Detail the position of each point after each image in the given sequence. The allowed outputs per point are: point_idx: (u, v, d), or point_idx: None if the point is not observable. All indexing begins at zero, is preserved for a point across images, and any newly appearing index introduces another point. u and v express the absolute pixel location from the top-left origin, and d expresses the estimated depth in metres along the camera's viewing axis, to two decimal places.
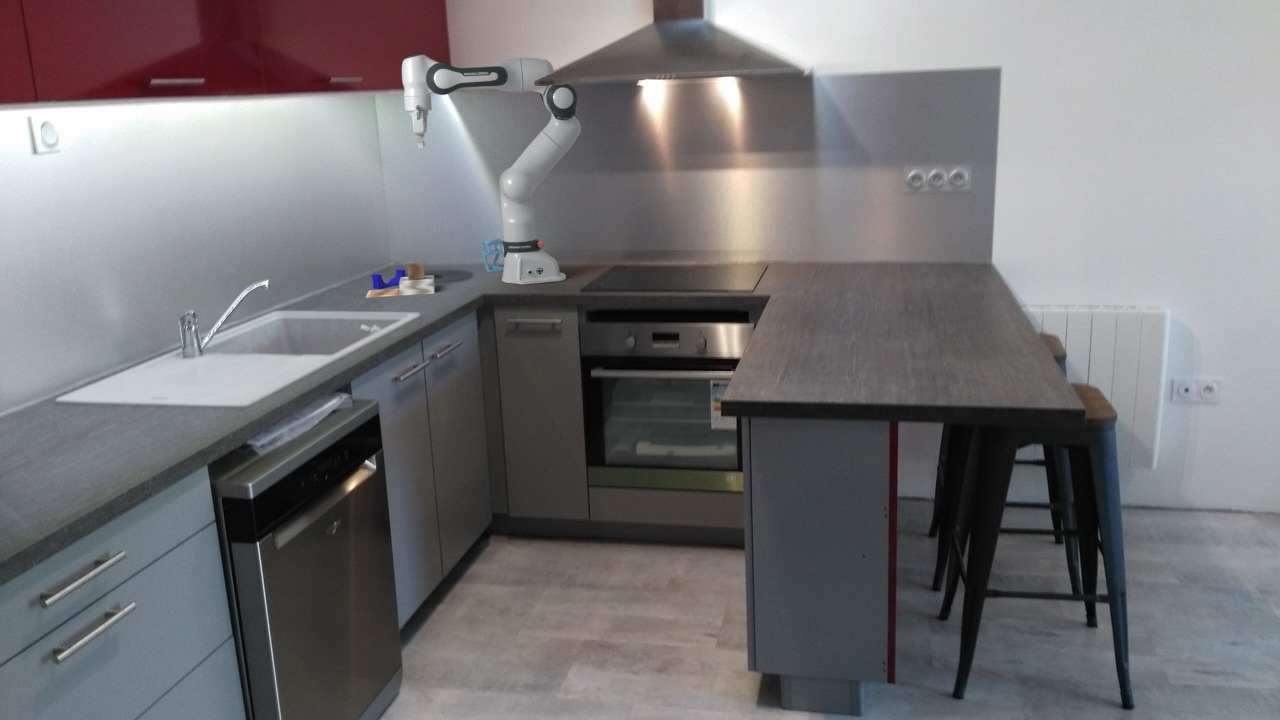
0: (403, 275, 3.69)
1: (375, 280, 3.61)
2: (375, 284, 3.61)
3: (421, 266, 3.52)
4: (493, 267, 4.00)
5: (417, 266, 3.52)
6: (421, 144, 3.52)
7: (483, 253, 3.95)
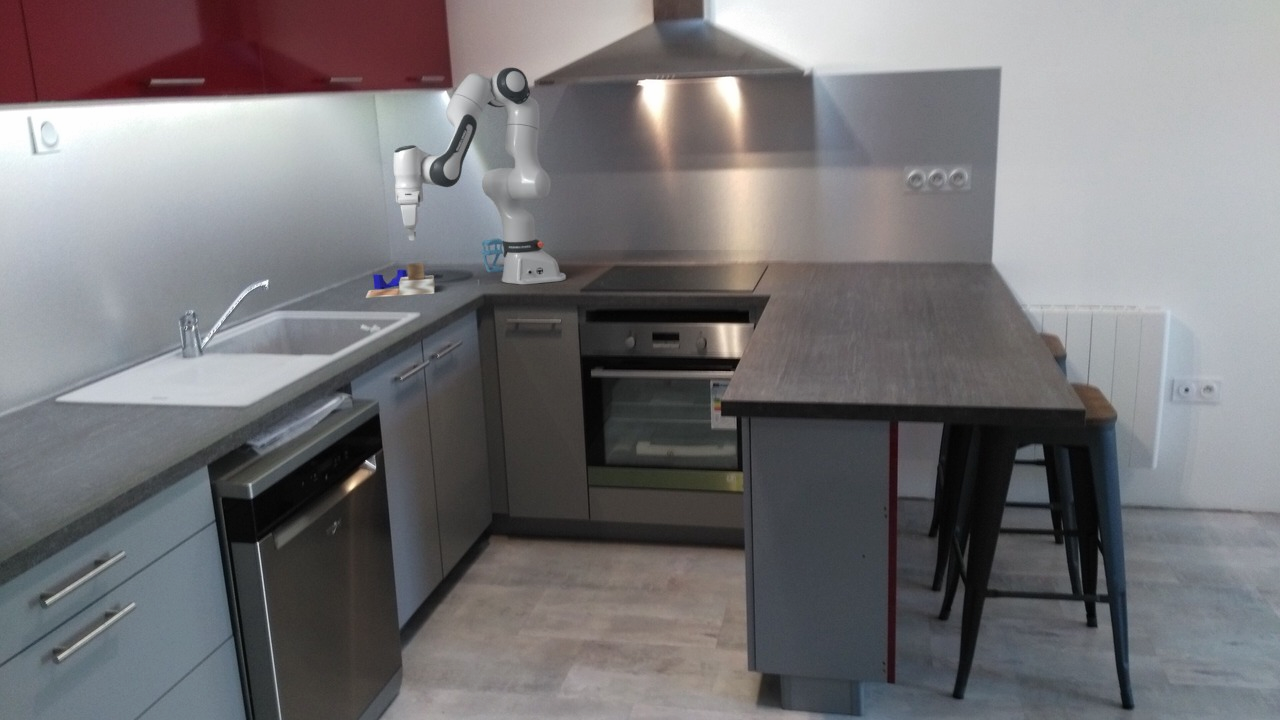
0: (404, 275, 3.68)
1: (376, 280, 3.61)
2: (376, 284, 3.61)
3: (421, 266, 3.52)
4: (493, 267, 4.00)
5: (417, 266, 3.52)
6: None
7: (483, 253, 3.95)
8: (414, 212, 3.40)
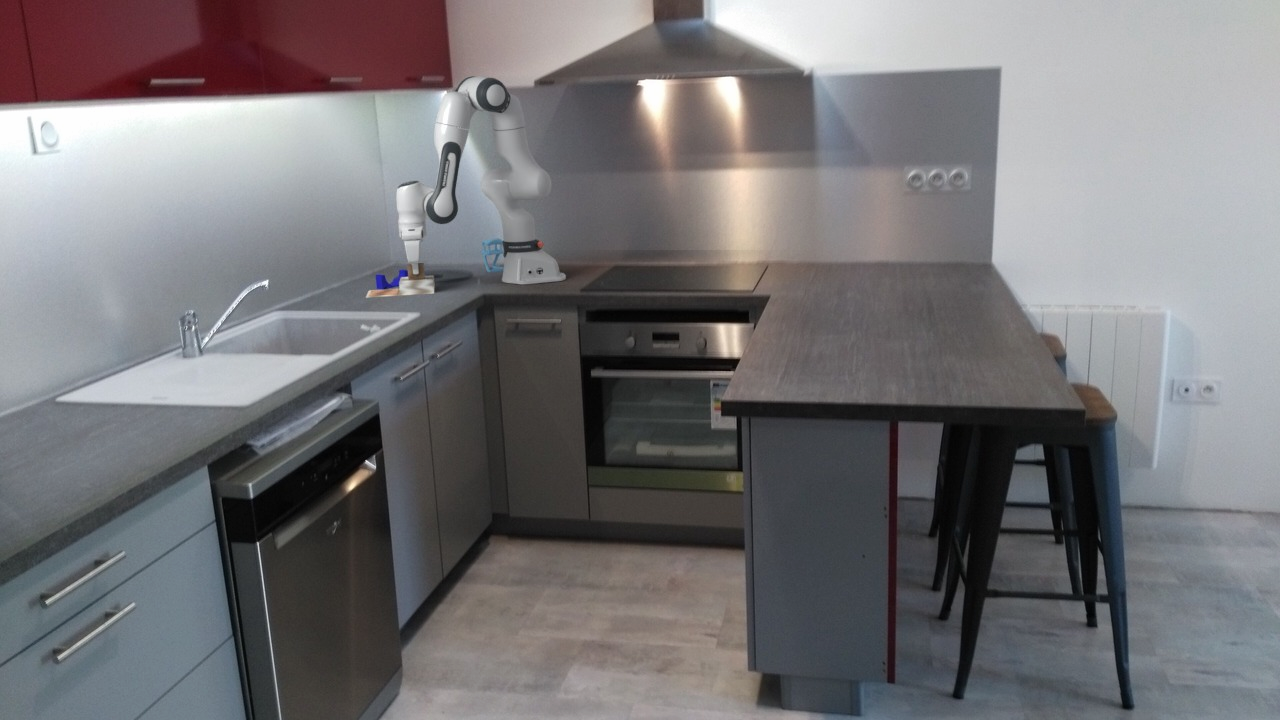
0: (406, 275, 3.68)
1: (378, 280, 3.60)
2: (379, 284, 3.61)
3: (421, 266, 3.52)
4: (493, 267, 4.00)
5: None
6: None
7: (483, 253, 3.95)
8: (418, 248, 3.43)
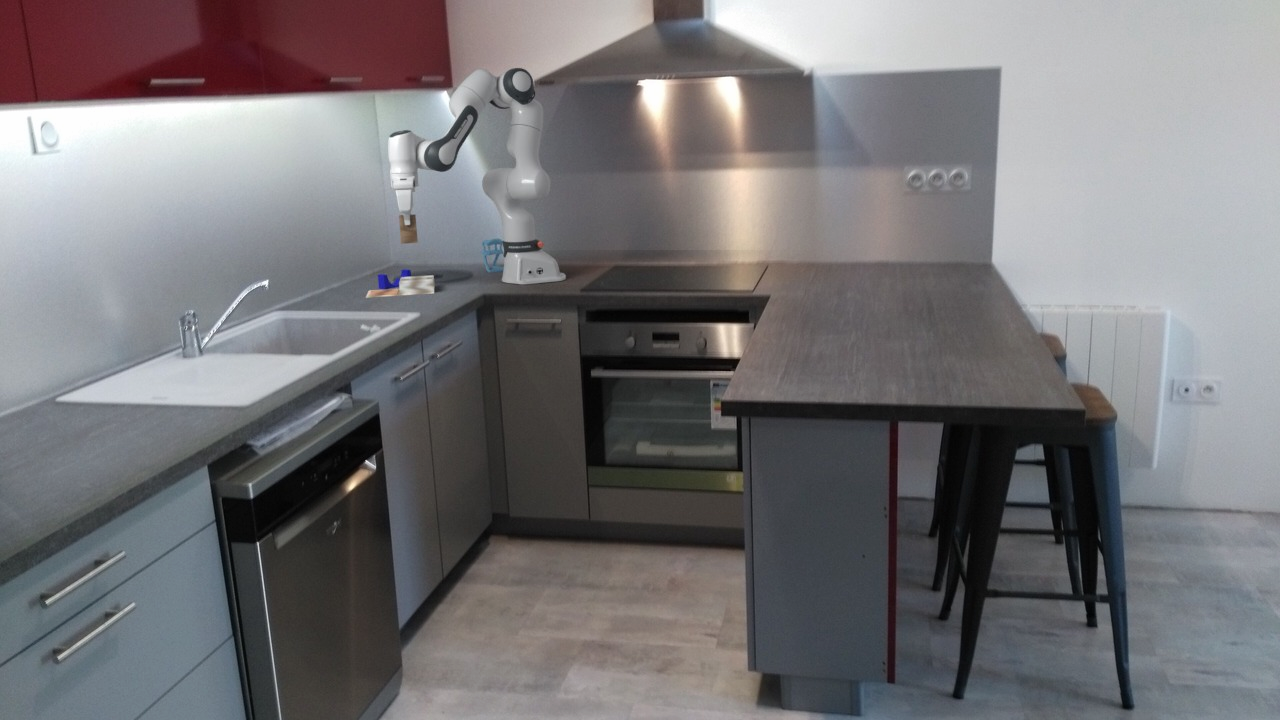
0: (409, 275, 3.68)
1: (380, 280, 3.60)
2: (381, 284, 3.61)
3: (413, 217, 3.48)
4: (493, 267, 4.00)
5: None
6: None
7: (483, 253, 3.95)
8: (409, 197, 3.38)
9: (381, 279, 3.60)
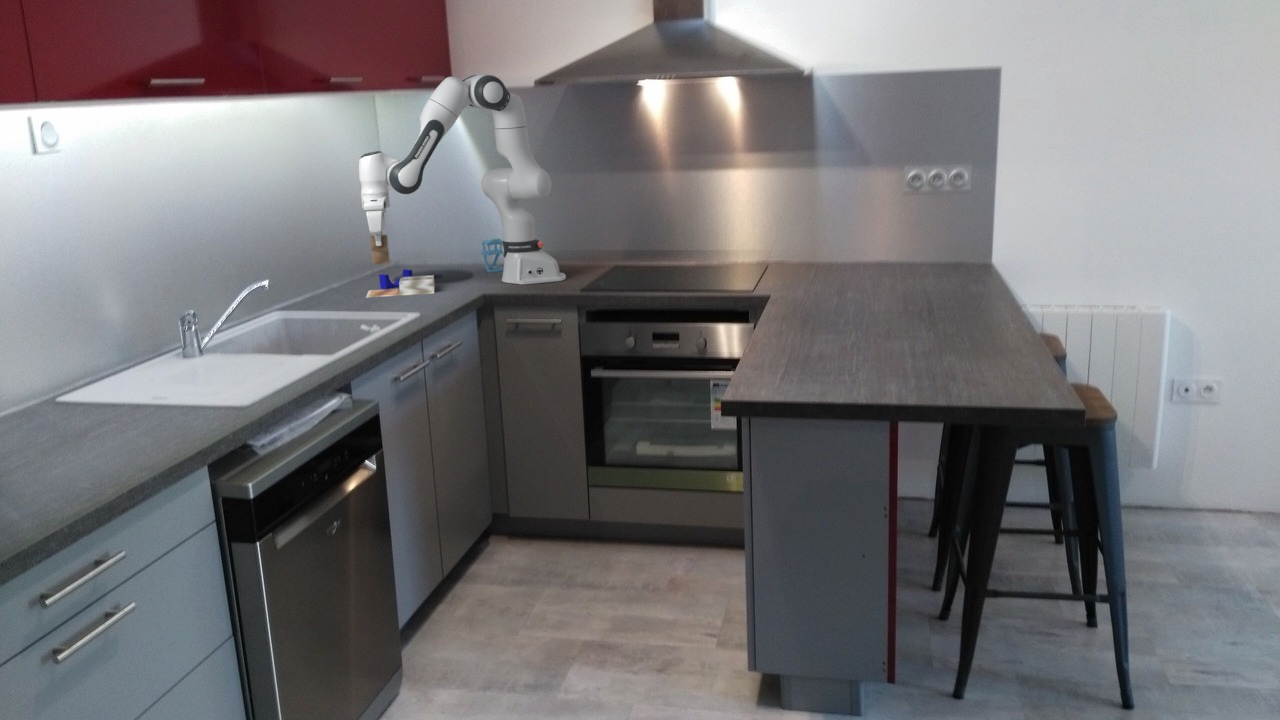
0: (410, 275, 3.68)
1: (382, 280, 3.60)
2: (382, 284, 3.61)
3: (384, 238, 3.48)
4: (493, 267, 4.00)
5: None
6: None
7: (483, 253, 3.95)
8: (380, 218, 3.38)
9: (382, 279, 3.60)
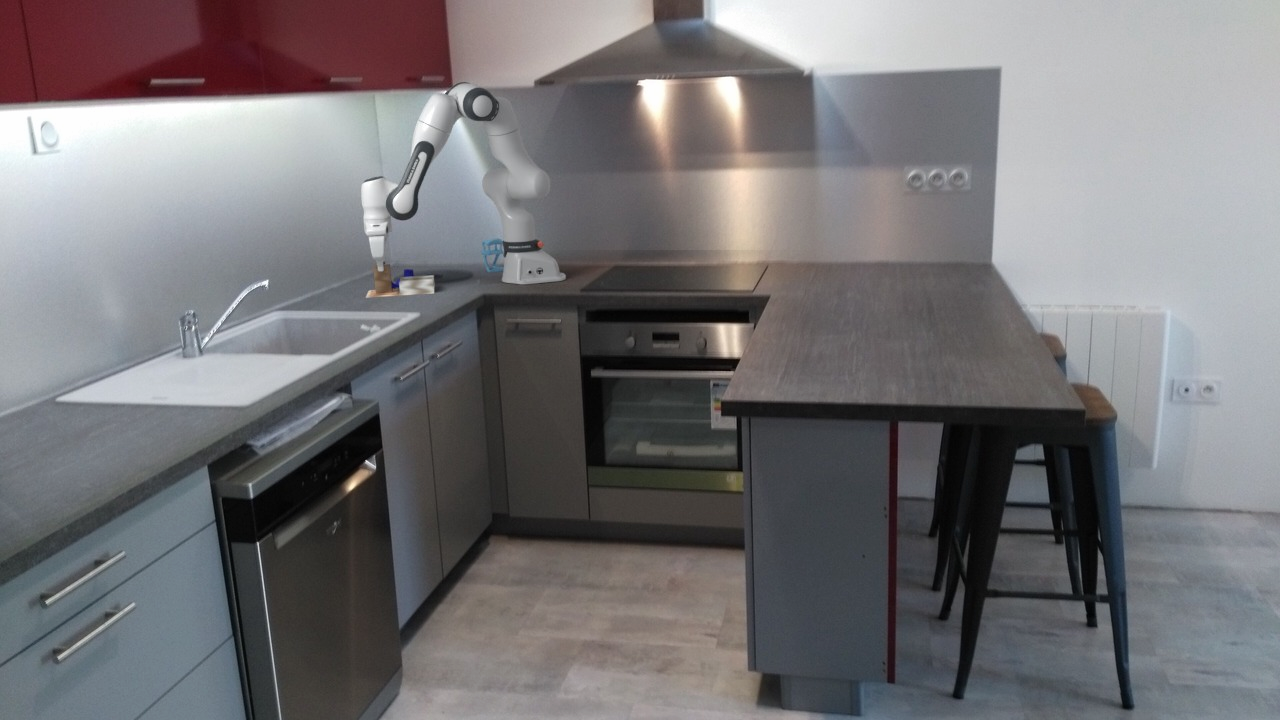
0: (411, 275, 3.68)
1: None
2: None
3: (387, 267, 3.51)
4: (493, 267, 4.00)
5: None
6: None
7: (483, 253, 3.95)
8: (382, 244, 3.41)
9: None
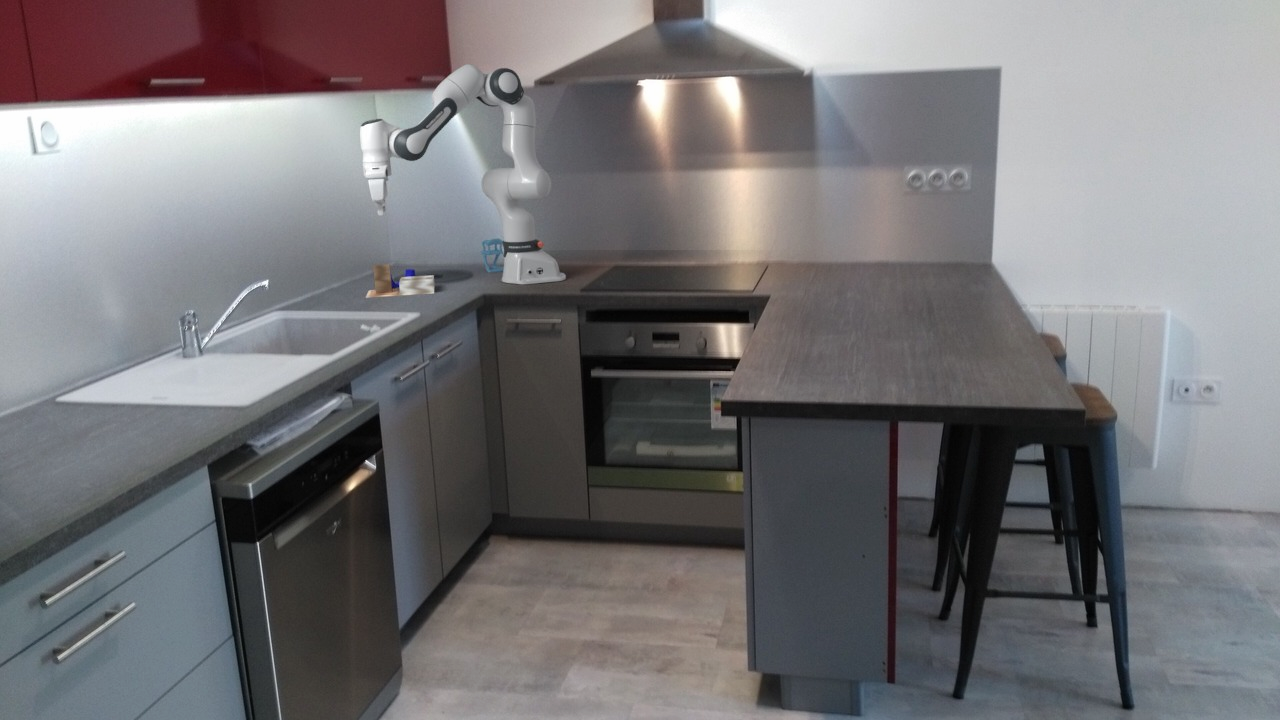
0: (413, 275, 3.68)
1: None
2: None
3: (387, 267, 3.51)
4: (493, 267, 4.00)
5: (383, 267, 3.50)
6: None
7: (483, 253, 3.95)
8: (382, 186, 3.37)
9: None
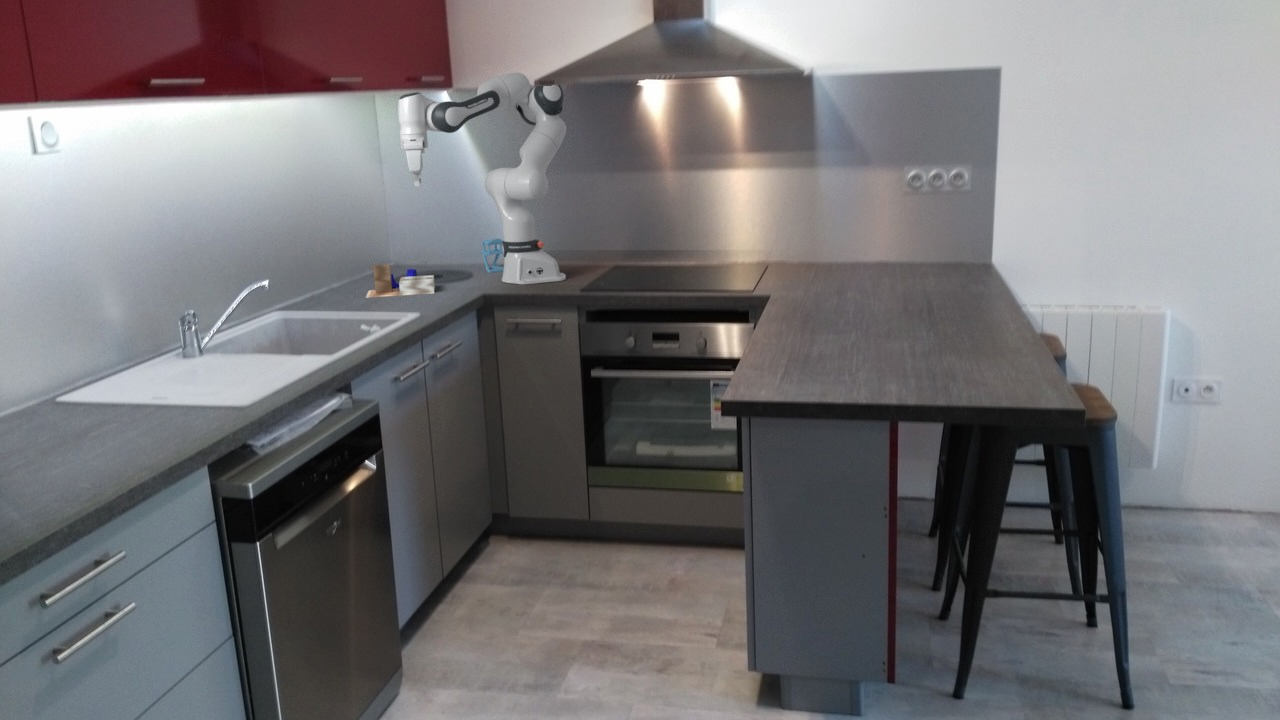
0: (414, 275, 3.68)
1: None
2: None
3: (387, 267, 3.51)
4: (493, 267, 4.00)
5: (383, 267, 3.50)
6: None
7: (483, 253, 3.95)
8: (419, 157, 3.46)
9: None
